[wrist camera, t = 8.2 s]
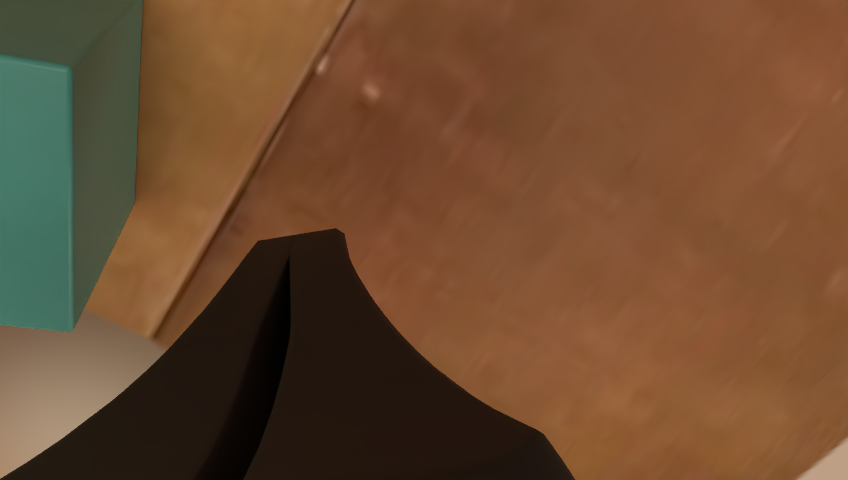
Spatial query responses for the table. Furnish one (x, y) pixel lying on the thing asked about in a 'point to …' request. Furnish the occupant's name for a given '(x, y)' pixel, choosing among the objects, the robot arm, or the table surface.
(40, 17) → the teal block
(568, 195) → the table surface
